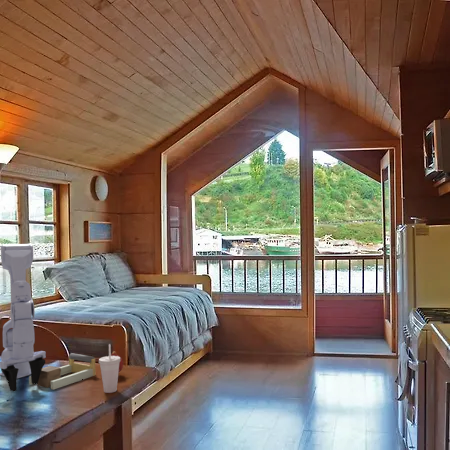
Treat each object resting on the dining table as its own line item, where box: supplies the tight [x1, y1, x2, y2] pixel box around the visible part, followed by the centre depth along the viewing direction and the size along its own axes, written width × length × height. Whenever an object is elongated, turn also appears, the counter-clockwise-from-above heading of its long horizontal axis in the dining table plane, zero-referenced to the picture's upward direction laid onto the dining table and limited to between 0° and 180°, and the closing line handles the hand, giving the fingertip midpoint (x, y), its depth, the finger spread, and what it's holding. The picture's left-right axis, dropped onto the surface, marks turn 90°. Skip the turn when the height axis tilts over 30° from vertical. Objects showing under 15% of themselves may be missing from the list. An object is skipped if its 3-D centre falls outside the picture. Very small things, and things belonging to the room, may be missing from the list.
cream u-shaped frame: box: [28, 352, 97, 390], centre depth 169 cm, size 11×18×6 cm, turn 148°
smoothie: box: [98, 343, 121, 394], centre depth 156 cm, size 6×6×14 cm
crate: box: [36, 365, 62, 388], centre depth 164 cm, size 5×5×5 cm
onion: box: [111, 350, 124, 374], centre depth 172 cm, size 6×6×8 cm
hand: (24, 387), depth 156 cm, fingers open, 7 cm apart
